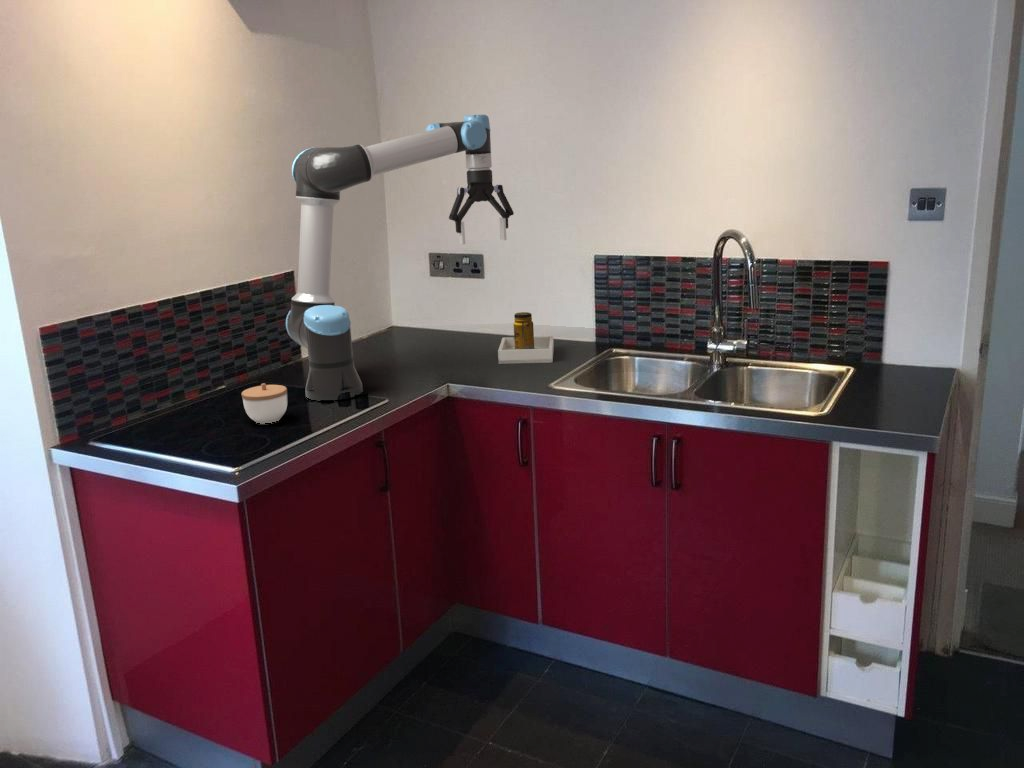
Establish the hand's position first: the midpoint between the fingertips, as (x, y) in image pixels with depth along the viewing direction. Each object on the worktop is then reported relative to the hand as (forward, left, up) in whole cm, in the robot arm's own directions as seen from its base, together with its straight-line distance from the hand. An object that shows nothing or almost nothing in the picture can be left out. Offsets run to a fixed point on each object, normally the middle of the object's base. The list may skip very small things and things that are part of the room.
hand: (483, 241), depth 269 cm
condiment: (+12, -2, -34) cm, 36 cm away
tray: (+12, -4, -35) cm, 37 cm away
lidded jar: (-49, -64, -35) cm, 88 cm away
